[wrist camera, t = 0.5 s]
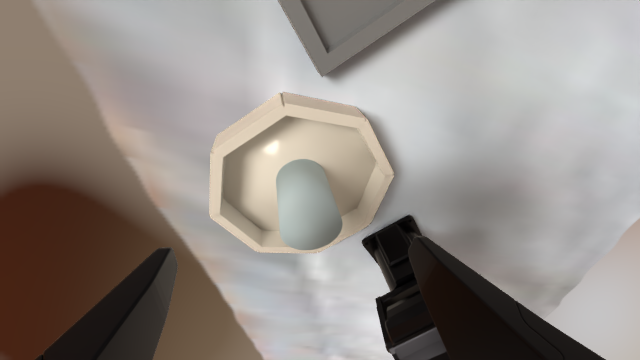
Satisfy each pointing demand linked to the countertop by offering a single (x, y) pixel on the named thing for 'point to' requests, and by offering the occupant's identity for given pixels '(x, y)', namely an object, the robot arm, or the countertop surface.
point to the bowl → (285, 146)
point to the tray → (344, 25)
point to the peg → (306, 206)
